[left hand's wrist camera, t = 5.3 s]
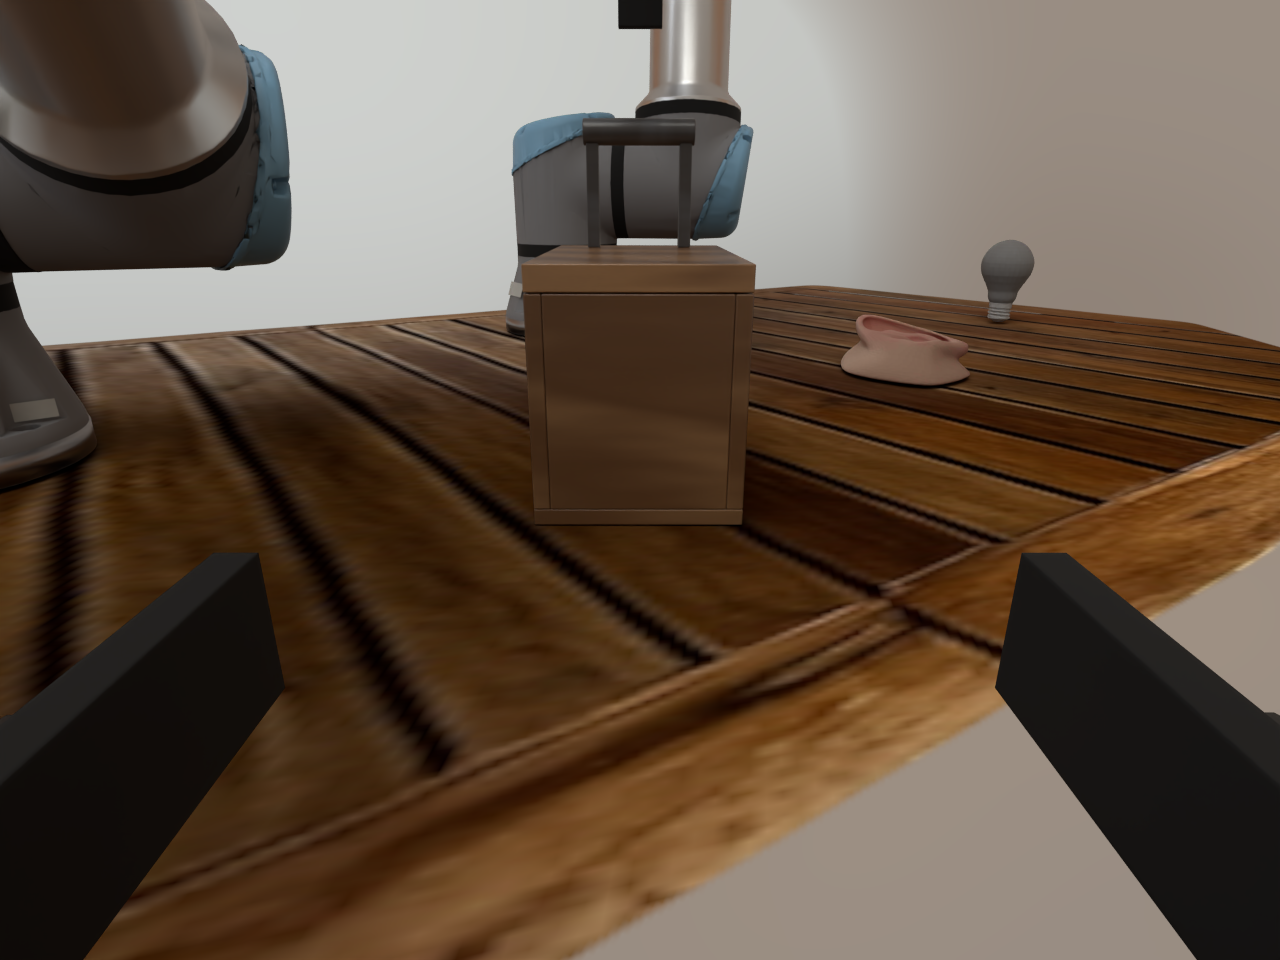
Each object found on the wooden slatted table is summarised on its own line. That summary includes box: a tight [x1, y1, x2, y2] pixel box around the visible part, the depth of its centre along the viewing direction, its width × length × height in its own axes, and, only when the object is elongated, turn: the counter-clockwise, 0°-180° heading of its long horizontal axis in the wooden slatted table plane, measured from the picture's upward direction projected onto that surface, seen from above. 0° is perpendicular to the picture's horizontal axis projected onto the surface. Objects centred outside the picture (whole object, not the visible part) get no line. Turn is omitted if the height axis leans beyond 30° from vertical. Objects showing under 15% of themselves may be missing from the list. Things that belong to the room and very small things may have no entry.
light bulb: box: [981, 240, 1034, 322], centre depth 93 cm, size 6×6×10 cm
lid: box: [521, 118, 756, 293], centre depth 37 cm, size 16×10×8 cm, turn 0°
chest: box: [523, 293, 754, 525], centre depth 40 cm, size 15×10×11 cm, turn 0°
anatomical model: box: [841, 315, 970, 386], centre depth 66 cm, size 13×4×12 cm
